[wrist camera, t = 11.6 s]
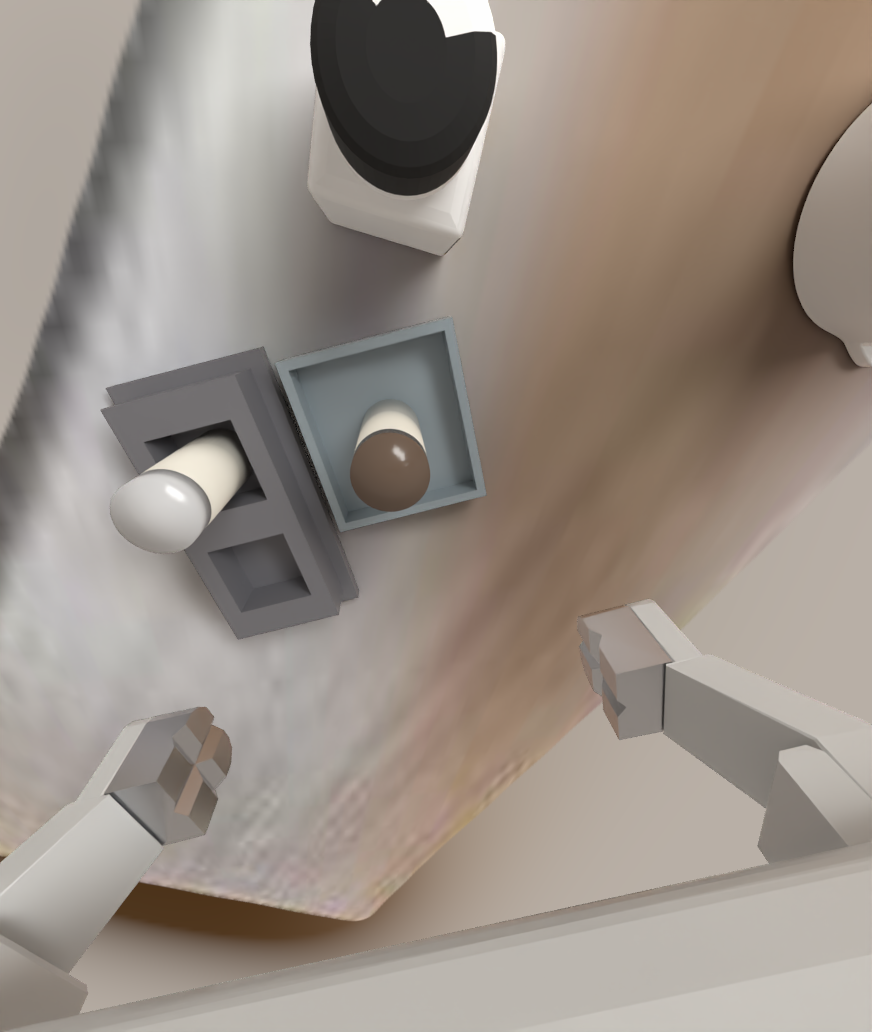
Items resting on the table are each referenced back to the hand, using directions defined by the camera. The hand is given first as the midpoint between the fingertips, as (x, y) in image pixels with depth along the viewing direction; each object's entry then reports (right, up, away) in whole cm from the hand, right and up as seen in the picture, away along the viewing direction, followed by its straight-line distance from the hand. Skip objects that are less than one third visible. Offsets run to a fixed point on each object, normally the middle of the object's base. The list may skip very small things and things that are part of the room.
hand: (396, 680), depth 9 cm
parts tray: (-2, +10, +21) cm, 23 cm away
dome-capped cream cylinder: (-14, +8, +20) cm, 25 cm away
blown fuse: (-2, +10, +20) cm, 23 cm away
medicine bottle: (-1, +23, +15) cm, 28 cm away
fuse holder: (-13, +5, +22) cm, 26 cm away
